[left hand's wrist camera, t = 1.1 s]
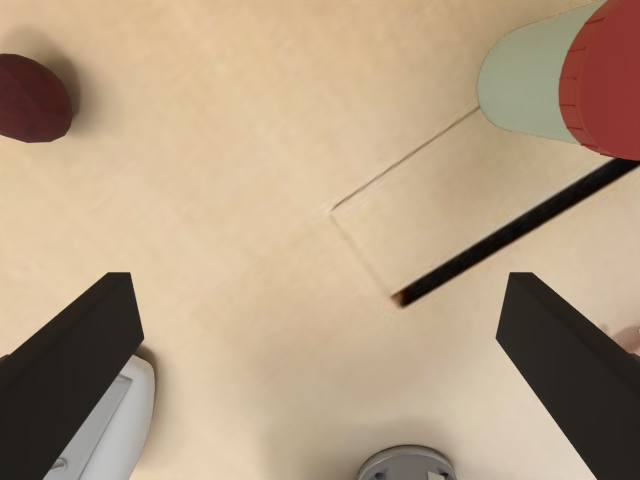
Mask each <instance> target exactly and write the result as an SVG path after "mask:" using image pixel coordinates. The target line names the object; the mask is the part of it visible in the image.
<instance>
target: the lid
mask: <svg viewBox="0 0 640 480" xmlns="http://www.w3.org/2000/svg"><path fill="white" fill-rule="evenodd" d="M567 52H568V53H567V55H566V57H565V60H564V63H563V66H562V70H561V75H560V78H559V89H558V95H559V107H560V112H561V115H562V118H563V121H564V123H565V125H566V127H567V128H566V129H568V130H569V132H570V133H571V134H572V136H573V137H574V138H575V139H576V140H577V141H578V142H579V143H580V145H581V146H585V147H586V148H588V149H590V150H592V151H595V152H598V153H600V155H604V156H609V157H613V158H618V157H620V158H624V159H631V160H640V0H607V1H606V2H605V3H604V4H603V5H602V6H600V7H599V8H598V9H597V10H596V11H595V12H594V13H593V14H592V16H591V17H590V18H589V19H588V20H587V21H586V22H585V23H584V25H583V27H582V28H581V29H580V31H579V32H578V34H577V35H576V37H575V39H574V40H573V42H572V44H571V46H570V48H569V50H568V51H567Z"/></svg>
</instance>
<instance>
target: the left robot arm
mask: <svg viewBox="0 0 640 480" xmlns="http://www.w3.org/2000/svg"><path fill="white" fill-rule="evenodd" d="M143 340H144V334H143V329H142V325H141V320H140V316H139V311H138V306H137V302H136V297H135V292H134V288H133V283H132V279H131V274H130V272H108V273H107V274H105V275H104V276H103V277H102V278H101V279H100V280H98V281H97V282H96V283H95V284H94V285H92V286H91V287H90V288H89V289H88V290H86V291H85V292H84V293H83V294H82V295H80V296H79V297H78V298H77V299H76V300H74V301H73V302H72V303H71V304H70V305H69V306H67V307H66V308H65V309H64V310H63V311H61V312H60V313H59V314H58V315H57V316H55V317H54V318H53V319H52V320H51V321H49V322H48V323H47V324H46V325H45V326H44V327H42V328H41V329H40V330H39V331H38V332H36V333H35V334H34V335H33V336H32V337H30V338H29V339H28V340H27V341H26V342H24V343H23V344H22V345H21V346H20V347H18V348H17V349H16V350H15V351H14V352H13V353H11V354H10V355H5V356H3V357H1V358H0V480H43V479H44V477H45V476H46V475H47V473H48V472H49V470H50V469H51V468H52V466H53V465H54V463H55V462H56V461H57V459H58V458H59V456H60V455H61V454H62V452H63V451H64V450H65V448H66V447H67V445H68V444H69V443H70V441H71V440H72V438H73V437H74V436H75V434H76V433H77V431H78V430H79V429H80V427H81V426H82V425H83V423H84V422H85V420H86V419H87V418H88V416H89V415H90V413H91V412H92V411H93V409H94V408H95V406H96V405H97V404H98V402H99V401H100V399H101V398H102V397H103V395H104V394H105V393H106V391H107V390H108V388H109V387H110V386H111V384H112V383H113V381H114V380H115V379H116V377H117V376H118V374H119V373H120V372H121V370H122V369H123V368H124V366H125V365H126V363H127V362H128V361H129V359H130V358H131V356H132V355H133V354H134V352H135V351H136V349H137V348H138V347H139V345H140V344H141V343H142V341H143ZM496 340H497V341H498V343H499V344H500V345H501V347H502V348H503V349H504V351H505V352H506V354H507V355H508V356H509V358H510V359H511V361H512V362H513V363H514V365H515V366H516V368H517V369H518V370H519V372H520V373H521V374H522V376H523V377H524V379H525V380H526V381H527V383H528V384H529V386H530V387H531V388H532V390H533V391H534V393H535V394H536V395H537V397H538V398H539V399H540V401H541V402H542V404H543V405H544V406H545V408H546V409H547V411H548V412H549V413H550V415H551V416H552V418H553V419H554V420H555V422H556V423H557V425H558V426H559V427H560V429H561V430H562V431H563V433H564V434H565V436H566V437H567V438H568V440H569V441H570V443H571V444H572V445H573V447H574V448H575V450H576V451H577V452H578V454H579V455H580V456H581V458H582V459H583V461H584V462H585V463H586V465H587V466H588V468H589V469H590V470H591V472H592V473H593V475H594V476H595V477H596V479H597V480H640V356H638V355H636V354H634V353H627V352H626V351H625V350H624V349H623V348H622V347H620V346H619V345H618V344H617V343H616V342H614V341H613V340H612V339H611V338H610V337H608V336H607V335H606V334H605V333H604V332H602V331H601V330H600V329H599V328H598V327H596V326H595V325H594V324H593V323H592V322H591V321H589V320H588V319H587V318H586V317H585V316H583V315H582V314H581V313H580V312H579V311H577V310H576V309H575V308H574V307H573V306H571V305H570V304H569V303H568V302H567V301H566V300H564V299H563V298H562V297H561V296H560V295H558V294H557V293H556V292H555V291H554V290H552V289H551V288H550V287H549V286H548V285H546V284H545V283H544V282H543V281H542V280H540V279H539V278H538V277H537V276H536V275H535V274H533V273H532V272H510V274H509V279H508V283H507V288H506V292H505V297H504V302H503V306H502V311H501V315H500V320H499V325H498V329H497V334H496ZM357 480H457V479H456V476H455V473H454V470H453V467H452V465H451V464H450V462H449V461H448V460H447V459H446V458H445V457H444V456H443V455H441V454H440V453H438V452H436V451H434V450H431V449H428V448H424V447H419V446H400V447H394V448H390V449H387V450H384V451H382V452H380V453H378V454H376V455H374V456H373V457H371V458H370V459H369V460H367V461H366V462H365V463H364V465H363V466H362V467H361V469H360V470H359V473H358V475H357Z"/></svg>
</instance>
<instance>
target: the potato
mask: <svg viewBox="0 0 640 480" xmlns="http://www.w3.org/2000/svg"><path fill="white" fill-rule="evenodd" d="M71 121H72V109H71V103H70V98H69V95H68V93H67V91H66V89H65V87H64V85H63V83H62V81H61V80H60V79H59V78H58V77H57V76H56V75H55V74H54V73H53V72H52V71H50V70H49V69H47V68H46V67H44V66H43V65H41V64H39V63H38V62H36V61H34V60H32V59H29V58H26V57H23V56H20V55H16V54H0V135H3V136H6V137H9V138H13V139H16V140H20V141H23V142H26V143H36V142H51V141H53V140H56V139H58V138H60V137H62V136H64V135H65V134H66V133H67V131H68V130H69V128H70V126H71Z"/></svg>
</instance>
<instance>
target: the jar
mask: <svg viewBox="0 0 640 480" xmlns="http://www.w3.org/2000/svg"><path fill="white" fill-rule="evenodd" d="M606 1H607V0H601V1H598V2H595V3H592V4H589V5H586V6H583V7H580V8H577V9H574V10H571V11H568V12H565V13H562V14H559V15H556V16H553V17H550V18H547V19H544V20H541V21H538V22H535V23H532V24H529V25H526V26H523V27H520V28H518V29H516V30H513V31H512V32H510V33H508V34H507V35H505V36H504V37H503V38H502V39H500V40H499V41H498V42H497V43H496V44H495V45H494V47H493V48H492V49H491V50H490V52H489V53H488V55H487V56H486V58H485V60H484V62H483V64H482V67H481V69H480V73H479V76H478V83H477V95H478V101H479V105H480V107H481V110H482V111H483V113H484V115H485V116H486V117H487V119H488V120H489V121H490V122H491V123H492V124H494V125H495V126H497V127H499V128H501V129H504V130H507V131H512V132H517V133H522V134H527V135H533V136H538V137H543V138H548V139H553V140H559V141H564V142H569V143H574V144H579V145H580V143H579V142H578V141H577V140H576V139H575V138H574V137H573V136H572V134H571V133H570V132H569V130H568V129H566V128H567V127H566V125H565V123H564V121H563V118H562V115H561V112H560V107H559V95H558V89H559V78H560V75H561V70H562V66H563V63H564V60H565V57H566V55H567V53H568V52H567V51H568V50H569V48H570V46H571V44H572V42H573V40H574V39H575V37H576V35H577V34H578V32H579V31H580V29H581V28H582V27H583V25H584V23H585V22H586V21H587V20H588V19H589V18H590V17H591V16H592V14H593V13H594V12H595V11H596V10H597V9H598V8H599V7H600V6H602V5H603V4H604V3H605V2H606Z"/></svg>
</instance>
